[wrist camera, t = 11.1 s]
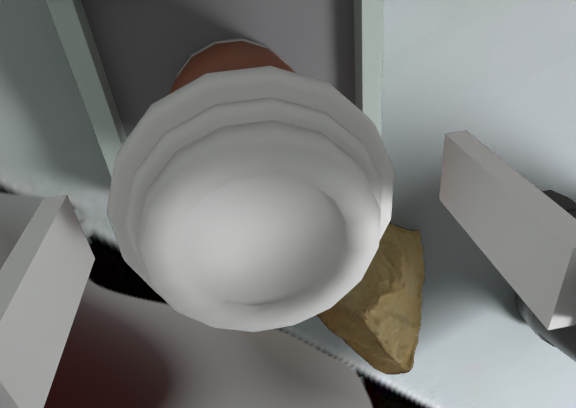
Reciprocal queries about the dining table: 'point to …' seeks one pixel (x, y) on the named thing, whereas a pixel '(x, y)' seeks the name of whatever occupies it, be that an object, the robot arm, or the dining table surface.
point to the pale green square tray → (200, 32)
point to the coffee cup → (250, 191)
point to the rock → (384, 304)
